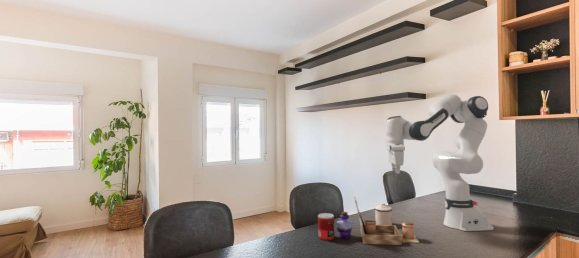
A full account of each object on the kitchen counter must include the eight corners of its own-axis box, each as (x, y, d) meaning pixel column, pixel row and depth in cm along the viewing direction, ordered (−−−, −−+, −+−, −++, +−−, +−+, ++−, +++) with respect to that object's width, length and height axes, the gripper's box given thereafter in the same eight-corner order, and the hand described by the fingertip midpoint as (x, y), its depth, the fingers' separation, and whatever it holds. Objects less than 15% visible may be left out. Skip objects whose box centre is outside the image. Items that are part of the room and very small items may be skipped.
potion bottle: (335, 233, 146) (334, 210, 146) (352, 233, 146) (351, 209, 146) (337, 240, 137) (336, 215, 138) (355, 240, 137) (355, 214, 137)
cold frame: (395, 233, 145) (394, 193, 145) (402, 245, 130) (400, 201, 130) (354, 232, 148) (353, 193, 148) (356, 243, 133) (355, 200, 133)
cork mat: (413, 235, 141) (413, 234, 141) (419, 243, 131) (419, 241, 131) (398, 234, 142) (398, 233, 142) (403, 242, 133) (403, 241, 133)
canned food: (330, 241, 136) (330, 218, 136) (315, 238, 140) (315, 216, 140) (337, 236, 142) (336, 214, 142) (322, 234, 146) (321, 212, 147)
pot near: (413, 235, 139) (412, 221, 139) (416, 239, 134) (415, 225, 134) (400, 235, 140) (400, 221, 140) (403, 239, 135) (403, 225, 135)
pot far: (375, 232, 145) (375, 219, 145) (377, 236, 140) (376, 222, 140) (364, 231, 146) (363, 218, 146) (365, 235, 141) (364, 222, 141)
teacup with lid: (396, 226, 155) (395, 204, 155) (380, 227, 153) (380, 205, 153) (384, 219, 167) (383, 199, 167) (369, 221, 165) (369, 200, 165)
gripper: (385, 145, 165) (386, 169, 165) (392, 147, 145) (393, 175, 145) (397, 145, 164) (397, 169, 164) (405, 147, 144) (406, 175, 144)
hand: (395, 172), depth 154 cm, fingers open, 8 cm apart
